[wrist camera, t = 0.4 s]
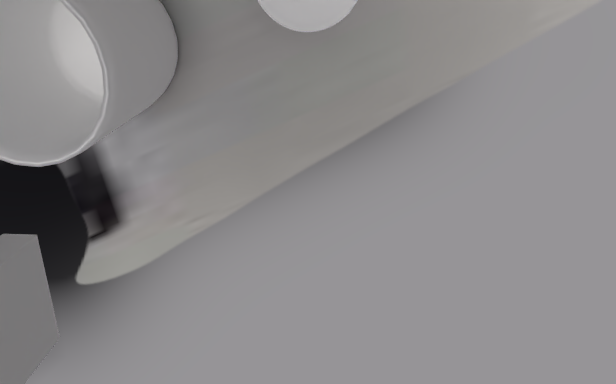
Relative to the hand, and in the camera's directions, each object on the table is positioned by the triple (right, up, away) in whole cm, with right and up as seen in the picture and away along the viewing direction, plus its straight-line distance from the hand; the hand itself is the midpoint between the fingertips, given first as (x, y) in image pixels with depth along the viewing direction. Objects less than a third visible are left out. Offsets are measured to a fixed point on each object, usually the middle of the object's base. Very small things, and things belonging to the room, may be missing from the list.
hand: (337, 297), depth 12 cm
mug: (-15, +12, +25) cm, 32 cm away
